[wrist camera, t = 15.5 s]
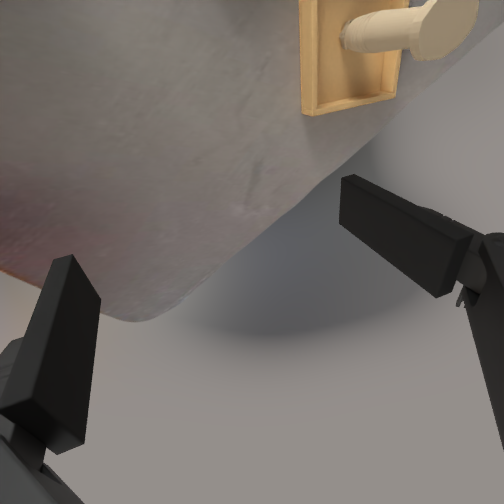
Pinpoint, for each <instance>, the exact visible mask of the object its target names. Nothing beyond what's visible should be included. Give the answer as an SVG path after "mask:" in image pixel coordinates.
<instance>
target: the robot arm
mask: <svg viewBox="0 0 504 504" xmlns="http://www.w3.org/2000/svg"><path fill="white" fill-rule="evenodd" d="M339 224H340V225H342V226H343V227H344V228H346V229H347V230H348V231H349V232H351V233H352V234H353V235H355V236H356V237H357V238H359V239H360V240H361V241H362V242H364V243H365V244H367V245H368V246H369V247H370V248H371V249H373V250H374V251H375V252H377V253H378V254H379V255H381V256H382V257H383V258H384V259H386V260H387V261H388V262H390V263H391V264H392V265H394V266H395V267H396V268H397V269H399V270H400V271H401V272H403V273H404V274H405V275H406V276H408V277H409V278H411V279H412V280H413V281H414V282H416V283H417V284H418V285H420V286H421V287H422V288H423V289H425V290H426V291H427V292H429V293H430V294H431V295H432V296H434V297H435V298H438V297H441V296H443V295H446V294H448V293H451V292H452V290H453V287H454V285H455V282H456V280H457V281H459V282H460V283H462V284H463V288H462V290H461V293H460V295H459V297H458V300H457V303H456V307H459V306H460V304H461V302H462V301H464V304H465V306H464V308H466V311H467V315H468V319H469V322H470V326H471V330H472V334H473V338H474V341H475V345H476V348H477V353H478V356H479V360H480V364H481V367H482V371H483V374H484V379H485V382H486V386H487V389H488V394H489V397H490V401H491V405H492V409H493V412H494V416H495V420H496V424H497V427H498V431H499V435H500V439H501V442H502V446H503V449H504V233H490V234H486V235H484V234H481V233H479V232H477V231H475V230H473V229H471V228H469V227H467V226H465V225H463V224H461V223H459V222H457V221H455V220H453V221H452V219H451V218H449V217H447V216H443V214H441V213H439V212H436V211H434V210H432V209H428V208H425V207H420V206H417V205H415V204H413V203H411V202H409V201H407V200H405V199H403V198H401V197H399V196H397V195H395V194H393V193H391V192H389V191H387V190H385V189H383V188H381V187H379V186H377V185H375V184H373V183H371V182H369V181H367V180H365V179H363V178H361V177H359V176H357V175H355V174H353V175H349V176H345V177H342V178H341V196H340V214H339ZM100 306H101V298H100V297H99V295H98V294H97V292H96V290H95V289H94V287H93V286H92V284H91V282H90V281H89V279H88V278H87V276H86V274H85V273H84V271H83V270H82V268H81V266H80V265H79V263H78V262H77V260H76V258H75V257H74V255H73V254H71V255H68V256H64V257H61V258H57V259H54V260H53V262H52V265H51V267H50V270H49V272H48V275H47V278H46V280H45V283H44V286H43V288H42V291H41V294H40V296H39V299H38V301H37V304H36V307H35V309H34V312H33V315H32V317H31V320H30V322H29V325H28V327H27V330H26V333H25V335H24V337H22V338H19V339H15V340H13V341H11V342H10V343H9V344H8V346H7V347H6V348H5V349H4V350H3V352H2V353H1V354H0V504H84V503H83V502H82V501H81V500H80V498H79V497H78V496H77V495H76V494H75V493H74V492H73V491H72V490H71V489H70V488H69V487H68V486H67V485H66V484H65V483H64V482H63V481H62V480H61V478H60V477H59V476H58V475H57V474H56V473H55V472H54V471H53V470H52V469H51V468H50V467H49V466H48V465H46V464H45V463H43V460H44V455H45V451H46V447H47V448H48V449H49V450H51V451H52V452H54V453H55V454H56V455H58V454H61V453H63V452H66V451H68V450H70V449H73V448H75V447H78V446H80V445H82V444H84V442H85V434H86V425H87V417H88V408H89V400H90V391H91V382H92V374H93V366H94V357H95V348H96V339H97V331H98V323H99V314H100Z"/></svg>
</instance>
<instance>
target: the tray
mask: <svg viewBox="0 0 504 504" xmlns="http://www.w3.org/2000/svg"><path fill="white" fill-rule="evenodd" d="M408 6H409V0H299V29H300V68H301V107H302V114H305V115H309V116H312V117H313V116H317V115H322V114H326V113H330V112H335V111H339V110H344V109H348V108H352V107H357V106H361V105H365V104H370V103H374V102H378V101H383V100H387V99H392V98H395V95H396V88H397V81H398V75H399V68H400V61H401V54H402V49H401V50H394V51H386V52H379V53H360V52H355V51H352V50H350V49H348V50H346V49H343V48H342V47H341V40H340V38H339V35H340V33H341V32H342V30H343V29H344V25H345V23H346V22H347V21H349V20H351V19H356V18H358V17H360V16H363V15H366V14H369V13H372V12H377V11H381V10H390V9H401V8H408Z"/></svg>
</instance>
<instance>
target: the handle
mask: <svg viewBox="0 0 504 504" xmlns="http://www.w3.org/2000/svg"><path fill="white" fill-rule="evenodd" d="M478 7H479V0H428V1H427V2H426V3H425V4H424V5H423V6H421V7H411V8H401V9H390V10H381V11H377V12H372V13H369V14H366V15H363V16H360V17H358V18H356V19H351V20H349V21H347V22H346V23H345V25H344V29H343V30H342V32H341V33H340V35H339V38H340V40H341V47H342V48H343V49H346V50H348V49H350V50H352V51H355V52H360V53H379V52H386V51H394V50H401V49H410V51H411V54H412V56H413V58H414V59H415V60H418V61H427V60H437V59H441V58H442V57H444V56H446V55H447V54H449V53H450V52H452V51H453V50H454V49H456V48H457V47H458V46H459V45H460V44H461V43H462V42H463V40H464V39H465V38H466V36H467V35H468V34H469V32H470V31H471V30H472V28H473V27H474V24H475V22H476V18H477V14H478Z"/></svg>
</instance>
